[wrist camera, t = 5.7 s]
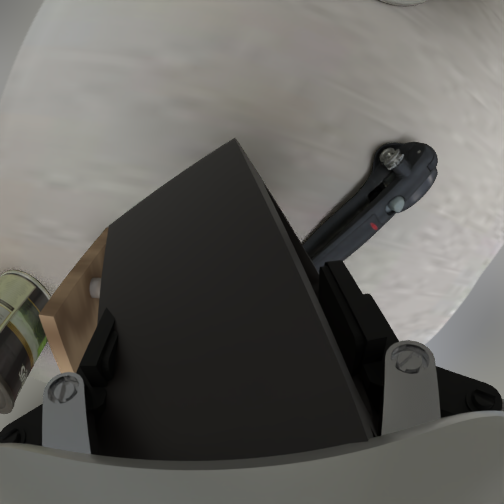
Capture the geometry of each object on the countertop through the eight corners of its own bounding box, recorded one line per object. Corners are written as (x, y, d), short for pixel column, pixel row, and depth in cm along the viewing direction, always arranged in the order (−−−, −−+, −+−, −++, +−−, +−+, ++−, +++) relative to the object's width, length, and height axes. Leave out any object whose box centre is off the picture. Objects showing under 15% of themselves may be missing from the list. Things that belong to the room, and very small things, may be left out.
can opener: (398, 119, 26) (430, 125, 21) (433, 171, 29) (464, 186, 24) (268, 242, 31) (276, 271, 26) (314, 283, 34) (327, 314, 29)
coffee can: (71, 309, 33) (22, 398, 21) (41, 346, 36) (2, 423, 23) (11, 252, 29) (-59, 323, 17) (-11, 298, 32) (-64, 365, 19)
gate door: (152, 370, 37) (133, 465, 25) (130, 368, 37) (106, 460, 24) (133, 228, 29) (75, 319, 16) (105, 227, 29) (36, 314, 16)
